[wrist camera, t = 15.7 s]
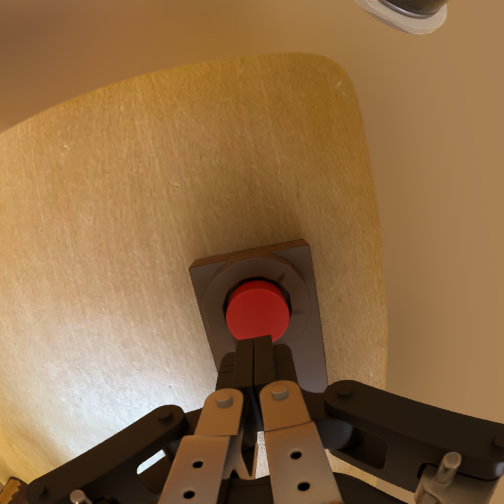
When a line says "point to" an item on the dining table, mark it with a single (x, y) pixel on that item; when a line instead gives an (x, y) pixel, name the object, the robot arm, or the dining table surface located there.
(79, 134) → the dining table surface
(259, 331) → the lamp switch
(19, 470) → the dining table surface
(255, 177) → the dining table surface
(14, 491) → the book
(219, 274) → the lamp base
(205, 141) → the dining table surface
